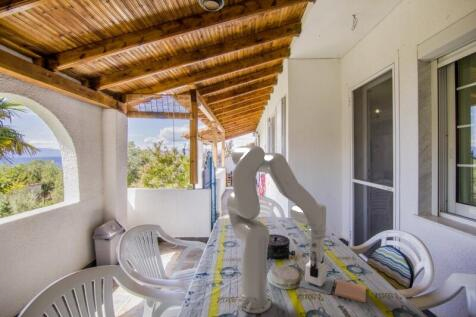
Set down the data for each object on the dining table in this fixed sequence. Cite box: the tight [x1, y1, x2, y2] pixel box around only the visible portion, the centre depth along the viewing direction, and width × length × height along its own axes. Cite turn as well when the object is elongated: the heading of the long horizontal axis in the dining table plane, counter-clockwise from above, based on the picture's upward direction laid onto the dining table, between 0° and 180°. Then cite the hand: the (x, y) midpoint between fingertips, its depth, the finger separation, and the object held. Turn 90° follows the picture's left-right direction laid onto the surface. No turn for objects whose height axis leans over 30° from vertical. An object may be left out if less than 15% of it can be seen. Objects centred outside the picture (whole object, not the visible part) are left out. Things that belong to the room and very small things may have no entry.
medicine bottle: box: [304, 255, 328, 286], centre depth 106 cm, size 7×7×12 cm
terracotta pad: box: [334, 279, 367, 303], centre depth 100 cm, size 11×11×1 cm
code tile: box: [298, 273, 335, 296], centre depth 106 cm, size 13×13×1 cm
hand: (316, 272), depth 106 cm, fingers closed on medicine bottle, 7 cm apart
